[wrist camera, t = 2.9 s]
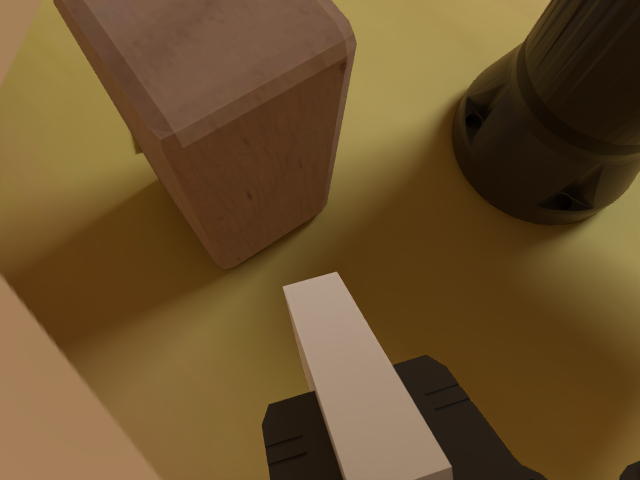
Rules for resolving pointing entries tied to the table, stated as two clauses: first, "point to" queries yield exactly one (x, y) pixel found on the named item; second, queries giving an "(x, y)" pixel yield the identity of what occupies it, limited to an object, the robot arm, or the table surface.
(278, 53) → the wooden block
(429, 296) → the table surface
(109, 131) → the table surface
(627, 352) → the table surface
